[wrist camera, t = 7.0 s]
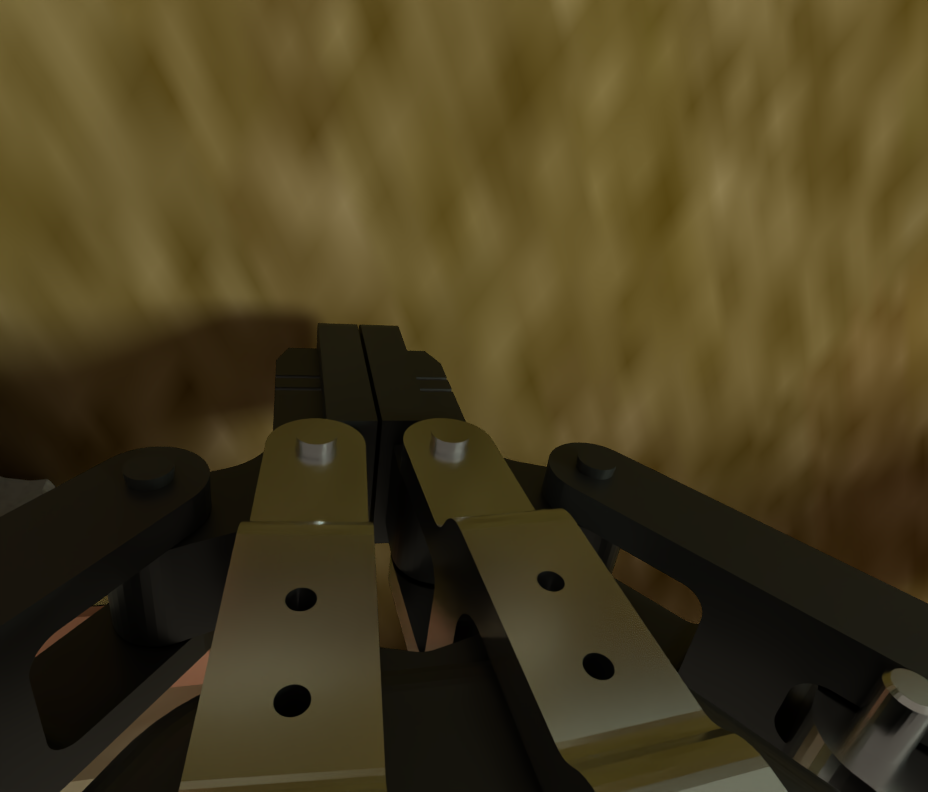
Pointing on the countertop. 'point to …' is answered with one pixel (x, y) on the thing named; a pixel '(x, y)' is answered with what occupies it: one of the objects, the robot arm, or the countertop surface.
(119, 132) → the countertop surface
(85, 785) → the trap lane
